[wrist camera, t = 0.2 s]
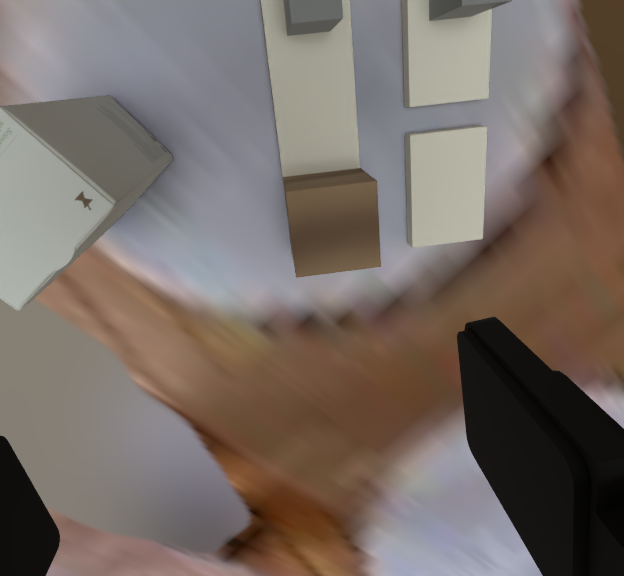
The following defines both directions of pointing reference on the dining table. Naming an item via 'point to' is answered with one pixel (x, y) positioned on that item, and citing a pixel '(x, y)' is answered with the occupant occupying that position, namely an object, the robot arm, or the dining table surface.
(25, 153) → the skincare box
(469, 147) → the broken strip
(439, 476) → the dining table surface
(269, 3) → the cream strip
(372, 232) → the walnut cube
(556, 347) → the dining table surface
